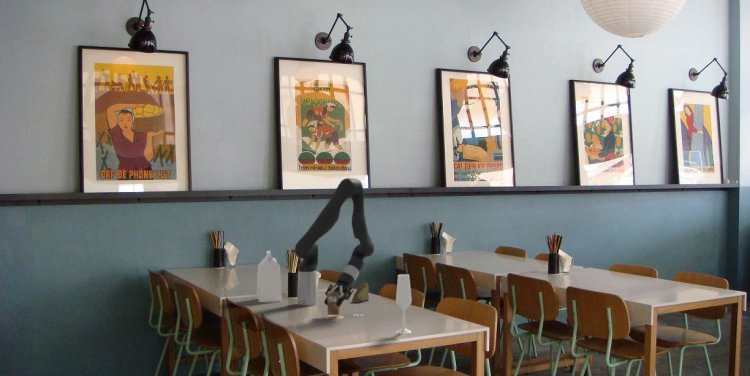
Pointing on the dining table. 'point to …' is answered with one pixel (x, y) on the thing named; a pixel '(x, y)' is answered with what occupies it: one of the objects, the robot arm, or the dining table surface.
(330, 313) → the walnut block
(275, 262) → the milk
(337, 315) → the coaster
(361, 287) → the rock
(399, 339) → the dining table surface
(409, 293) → the champagne flute
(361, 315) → the blue-gray tile
